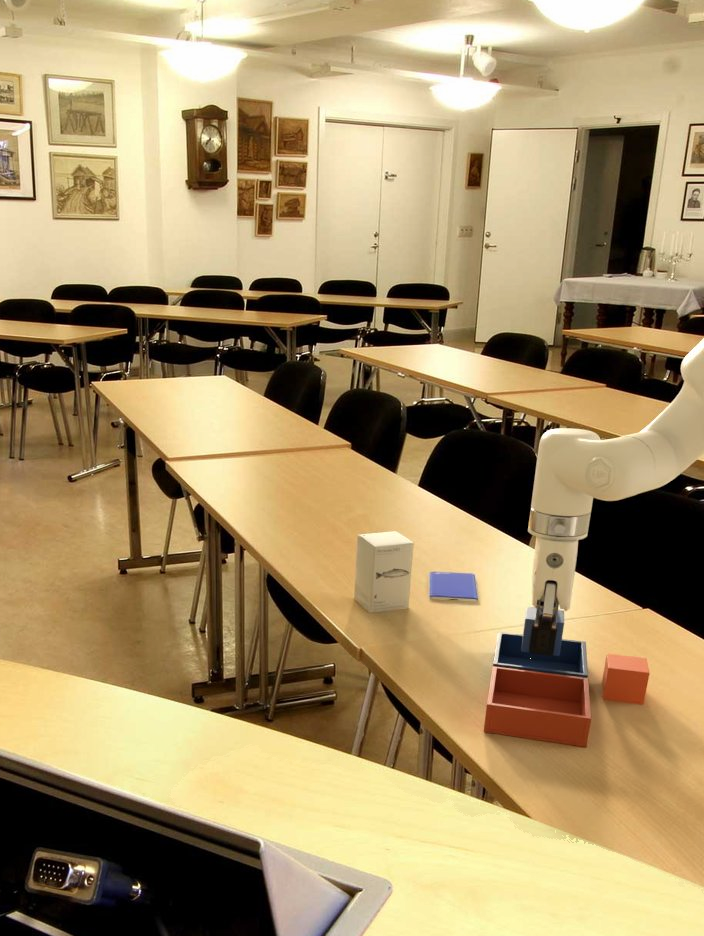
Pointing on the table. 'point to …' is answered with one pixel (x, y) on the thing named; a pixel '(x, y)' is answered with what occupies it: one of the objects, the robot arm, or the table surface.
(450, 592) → the hard drive
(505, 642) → the blue bin
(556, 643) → the blue block
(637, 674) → the rust block
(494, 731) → the rust bin
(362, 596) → the white packaging box
